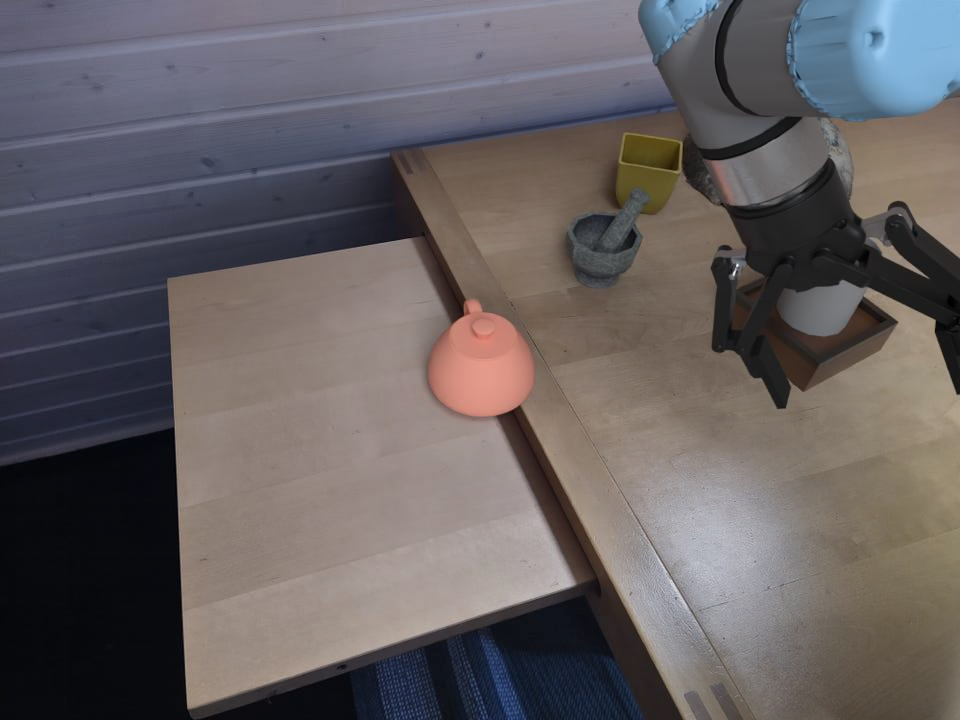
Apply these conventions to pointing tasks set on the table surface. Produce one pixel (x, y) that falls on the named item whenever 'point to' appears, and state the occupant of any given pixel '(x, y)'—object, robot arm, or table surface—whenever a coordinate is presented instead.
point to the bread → (837, 152)
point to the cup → (822, 305)
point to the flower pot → (648, 168)
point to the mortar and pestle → (606, 242)
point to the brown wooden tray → (817, 339)
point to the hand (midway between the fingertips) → (867, 391)
